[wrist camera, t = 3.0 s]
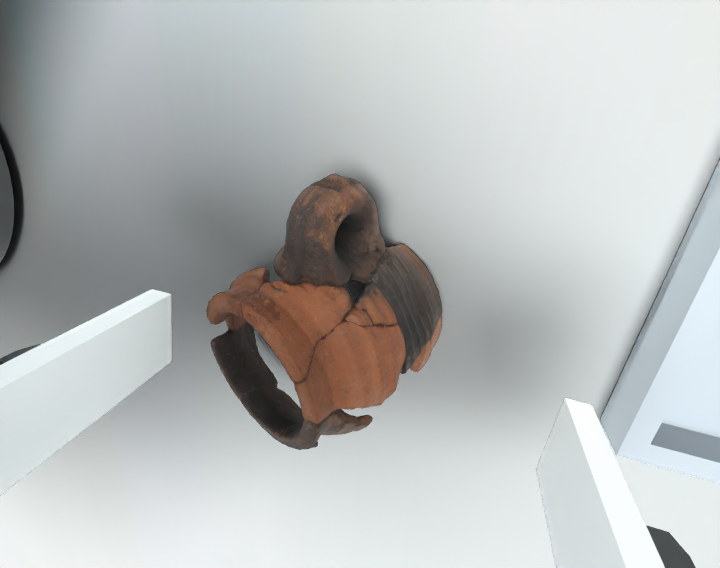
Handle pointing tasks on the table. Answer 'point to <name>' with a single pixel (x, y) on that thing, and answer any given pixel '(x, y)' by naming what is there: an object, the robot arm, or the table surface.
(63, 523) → the table surface
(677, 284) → the tray
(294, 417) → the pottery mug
